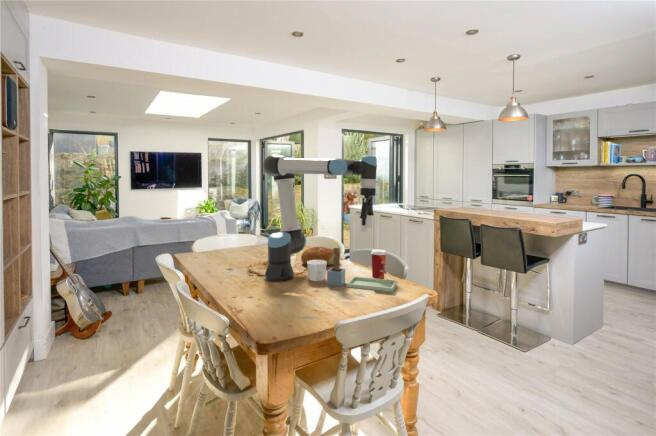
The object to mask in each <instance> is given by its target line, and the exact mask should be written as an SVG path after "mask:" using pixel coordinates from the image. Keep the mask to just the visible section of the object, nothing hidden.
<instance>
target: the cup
mask: <svg viewBox="0 0 656 436" xmlns="http://www.w3.org/2000/svg"><path fill="white" fill-rule="evenodd" d="M326 264H327V262H326V261H324V260H310V261H307V265H306V266H307V267H306V268H307V278H308V280H309V281H311V282H312V281H313V282H322V281H324V280H326V276H327V266H326Z"/></svg>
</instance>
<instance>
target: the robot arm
mask: <svg viewBox="0 0 656 436" xmlns="http://www.w3.org/2000/svg"><path fill="white" fill-rule="evenodd" d="M377 161H378V159H377V157H376V156H374V155H363V156H361V159H344V158H303V157H302V158H301V157H300V158H295V157H292V156H290V155H287V154H270V155H267V156H266V158H264V160H263V164H262V168H263V171H264V173H266V174H267V175H268V176H269V177H273V182H274V183H276V184H277V185H276V186H277V194H278V201H279V211H280V218H281V223H282V224H281V225H282V228H281V229H280V231H279V232H273V233H271V234H269V236H268V237H267V266H266V270H265V272H264V279H265V280H266V281H268V282H274V283H280V282H282V283H283V282H289V281H292V280H294V279H295V273H294V270H293V267H292V264H291V260H292V259H291V256H292V255H294V254H298V253H300V252H302V251H304V249H305V247H306V245H307V238H306V234H304V233H303V232H302V228H301V226H299V222H298V215H297V214H298V213H297V206H296V198H295V190H294V181H295V180H296V174H298V175H299V174H300V175H301V174H303V175H329V176H330V175H332V176H360V192H359V193H360V195H361V196H364V197H362V199H361V200H362V203H361V209H360V216H359V219H361V220H360V232H362V233H367V232H368V231H367V230H368V229H372V226H373V216H374V215H375V214H374V210H373V209H374V207H373V203H374V201H373V197H375V196H376V191H377V190H376V187H377V183H378V181H377V169H378V168H377V167H378V165H377Z"/></svg>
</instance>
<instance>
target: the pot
mask: <svg viewBox="0 0 656 436" xmlns="http://www.w3.org/2000/svg"><path fill="white" fill-rule="evenodd" d="M345 284H346V268H341V267H339V272H337V271H333V267H330V268H329V269H328V270H326V286H332V287H342V286H344V285H345Z"/></svg>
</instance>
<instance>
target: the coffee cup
mask: <svg viewBox="0 0 656 436" xmlns="http://www.w3.org/2000/svg"><path fill="white" fill-rule="evenodd" d="M370 255H371V273H372V274H371V275H372V277H371V278H376V279H385V274H386V273H385V270H386V261H387V260H386V259H387V255H388V253H387V250H386V249H385V250H384V249H379V248H378V249H377V248H376V249H372V250H371V253H370Z"/></svg>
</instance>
